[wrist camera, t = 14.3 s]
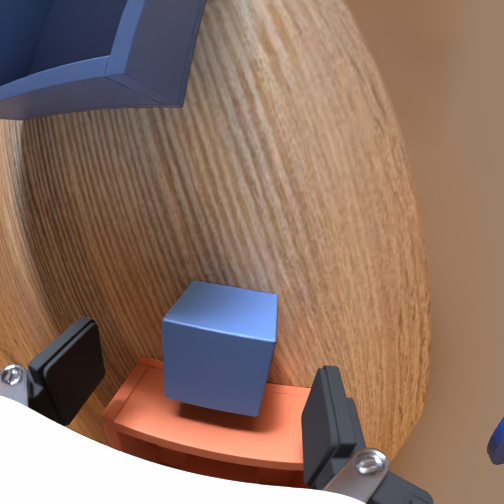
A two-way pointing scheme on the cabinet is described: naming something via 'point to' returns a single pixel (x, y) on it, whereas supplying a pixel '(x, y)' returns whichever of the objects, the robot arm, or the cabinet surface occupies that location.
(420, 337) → the cabinet surface
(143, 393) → the terracotta bin
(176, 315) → the blue block
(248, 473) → the terracotta block
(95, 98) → the blue bin
